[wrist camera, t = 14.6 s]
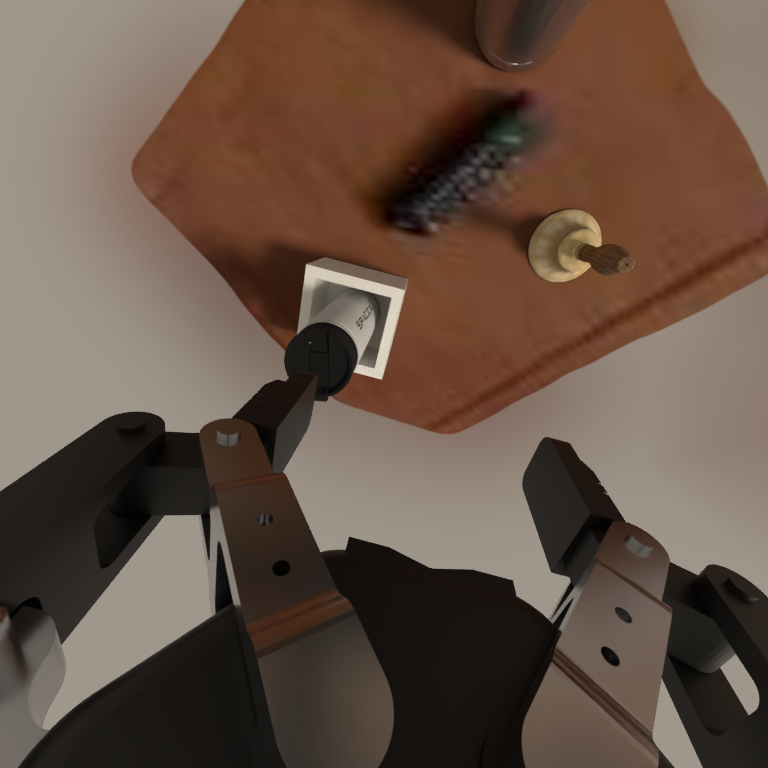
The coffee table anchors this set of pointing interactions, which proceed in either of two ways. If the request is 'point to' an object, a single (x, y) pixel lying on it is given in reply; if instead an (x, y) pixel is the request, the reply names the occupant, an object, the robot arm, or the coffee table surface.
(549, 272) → the hand bell
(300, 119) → the coffee table surface
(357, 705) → the robot arm
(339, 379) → the travel mug
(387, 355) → the socket
